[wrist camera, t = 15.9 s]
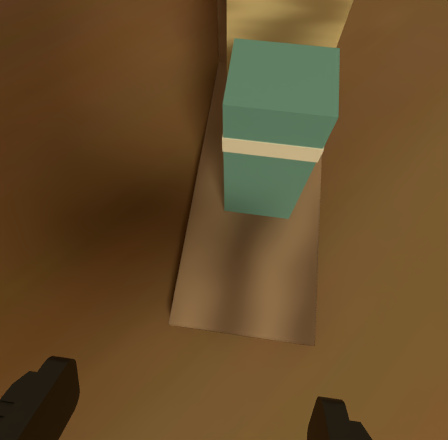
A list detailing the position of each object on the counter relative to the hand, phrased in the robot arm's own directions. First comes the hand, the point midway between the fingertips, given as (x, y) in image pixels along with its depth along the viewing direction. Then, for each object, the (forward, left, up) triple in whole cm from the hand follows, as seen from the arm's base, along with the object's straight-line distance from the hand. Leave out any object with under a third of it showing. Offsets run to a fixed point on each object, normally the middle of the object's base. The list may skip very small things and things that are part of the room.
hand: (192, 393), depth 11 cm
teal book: (+2, +13, -11) cm, 18 cm away
